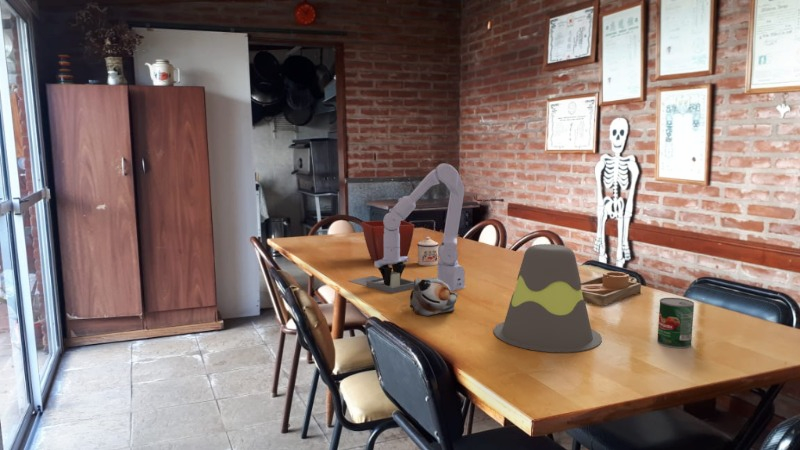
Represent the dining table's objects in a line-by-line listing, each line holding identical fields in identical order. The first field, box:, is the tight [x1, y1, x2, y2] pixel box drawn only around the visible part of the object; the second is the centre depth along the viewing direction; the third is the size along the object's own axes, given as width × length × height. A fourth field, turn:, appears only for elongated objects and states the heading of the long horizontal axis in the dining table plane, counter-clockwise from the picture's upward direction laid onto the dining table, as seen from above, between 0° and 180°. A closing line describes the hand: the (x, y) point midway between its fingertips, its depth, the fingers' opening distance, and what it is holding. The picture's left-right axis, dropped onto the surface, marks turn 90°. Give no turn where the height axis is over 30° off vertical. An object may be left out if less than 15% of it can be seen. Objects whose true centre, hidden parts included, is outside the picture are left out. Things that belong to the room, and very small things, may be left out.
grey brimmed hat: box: [493, 243, 603, 354], centre depth 151 cm, size 28×28×24 cm
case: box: [366, 277, 414, 294], centre depth 203 cm, size 14×12×2 cm
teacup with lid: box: [416, 236, 440, 267], centre depth 245 cm, size 12×9×12 cm
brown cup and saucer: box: [581, 271, 630, 295], centre depth 194 cm, size 18×8×7 cm, turn 104°
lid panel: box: [348, 275, 380, 287], centre depth 212 cm, size 11×12×1 cm
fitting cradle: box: [581, 275, 642, 306], centre depth 194 cm, size 15×25×3 cm, turn 132°
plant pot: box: [361, 220, 415, 261], centre depth 252 cm, size 19×19×17 cm
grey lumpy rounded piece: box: [409, 277, 459, 317], centre depth 172 cm, size 15×12×14 cm
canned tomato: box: [656, 297, 695, 349], centre depth 145 cm, size 8×8×11 cm
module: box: [390, 270, 400, 287], centre depth 203 cm, size 4×4×5 cm
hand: (391, 284), depth 203 cm, fingers closed on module, 4 cm apart
